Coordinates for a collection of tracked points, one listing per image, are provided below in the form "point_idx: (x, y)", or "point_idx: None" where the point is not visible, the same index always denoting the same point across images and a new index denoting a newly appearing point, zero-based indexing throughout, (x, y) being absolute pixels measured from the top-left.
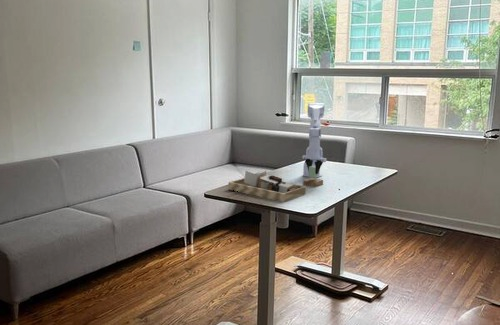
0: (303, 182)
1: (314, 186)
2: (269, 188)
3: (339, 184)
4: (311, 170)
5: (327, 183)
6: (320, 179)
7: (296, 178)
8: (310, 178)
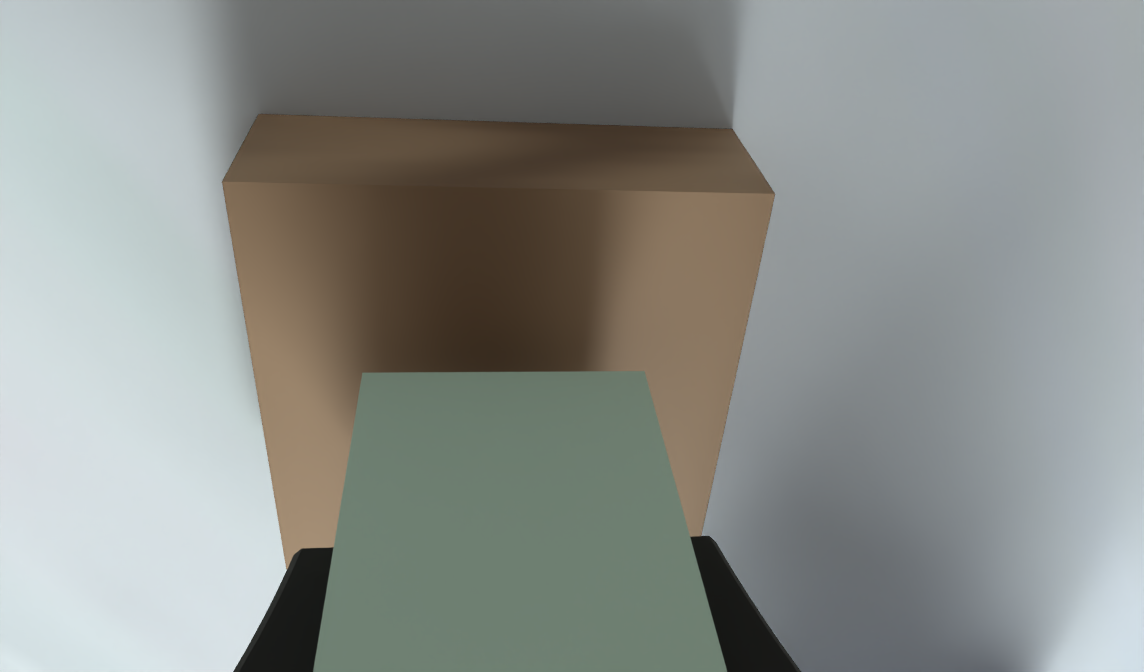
0: (746, 159)
1: (293, 119)
2: None
3: (36, 662)
4: (541, 605)
5: None
6: None
7: (1104, 520)
8: None
